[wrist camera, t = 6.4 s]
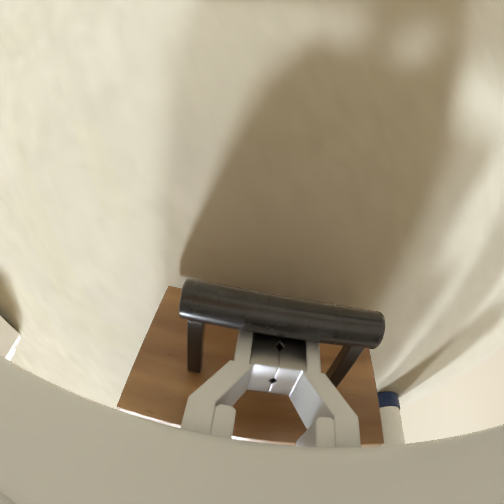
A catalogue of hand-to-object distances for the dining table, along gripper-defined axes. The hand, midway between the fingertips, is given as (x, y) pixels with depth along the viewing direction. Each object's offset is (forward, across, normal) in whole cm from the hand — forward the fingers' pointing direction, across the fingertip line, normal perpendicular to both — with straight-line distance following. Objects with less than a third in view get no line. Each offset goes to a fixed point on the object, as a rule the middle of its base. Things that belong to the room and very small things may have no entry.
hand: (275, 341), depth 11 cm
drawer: (+5, 0, +7) cm, 8 cm away
